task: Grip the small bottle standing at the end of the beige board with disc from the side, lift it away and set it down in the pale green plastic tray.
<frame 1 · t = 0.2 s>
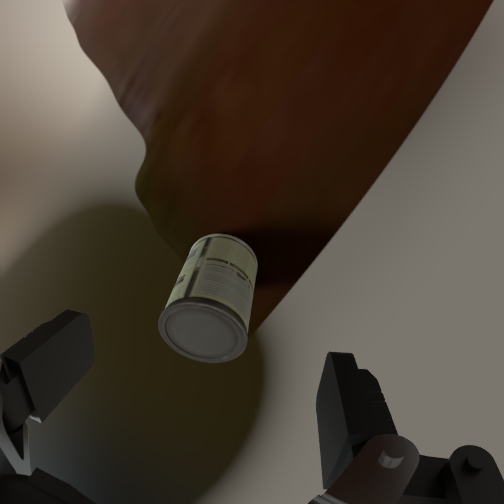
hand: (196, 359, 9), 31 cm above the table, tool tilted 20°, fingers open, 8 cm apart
coffee can: (223, 262, 46), on the table
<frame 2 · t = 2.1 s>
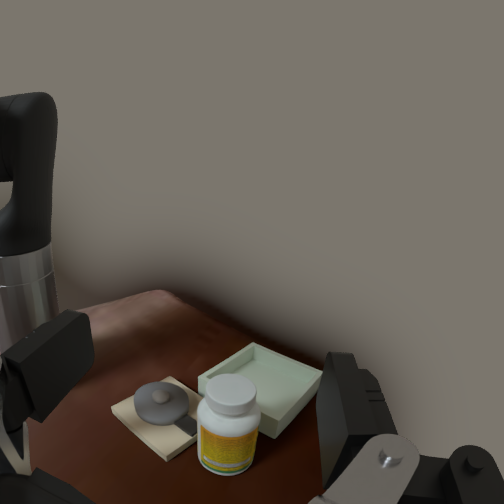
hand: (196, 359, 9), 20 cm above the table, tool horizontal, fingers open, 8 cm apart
supplement bottle: (225, 457, 26), on the table
beige board with disc: (168, 417, 30), on the table
tray: (261, 394, 36), on the table
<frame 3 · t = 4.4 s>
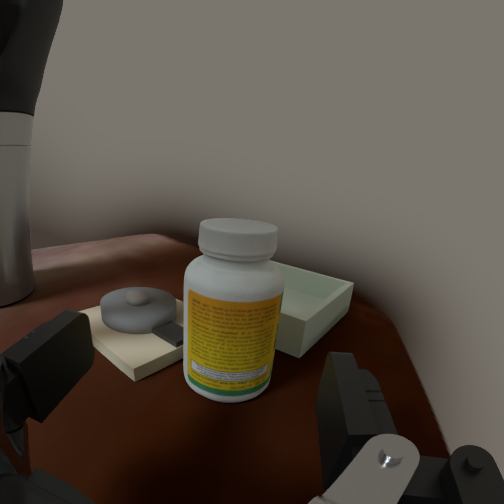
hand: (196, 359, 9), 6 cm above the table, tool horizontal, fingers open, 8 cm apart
supplement bottle: (227, 380, 19), on the table
beige board with disc: (147, 331, 23), on the table
tray: (274, 312, 29), on the table
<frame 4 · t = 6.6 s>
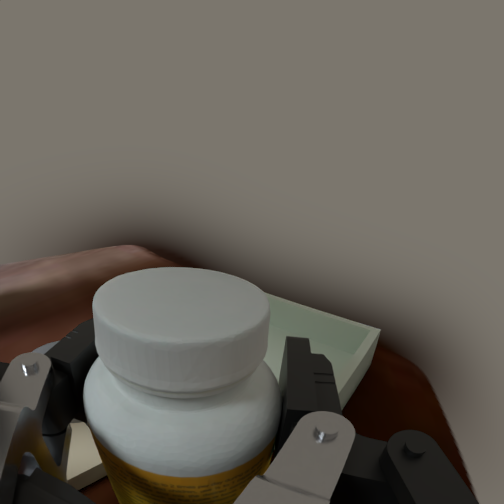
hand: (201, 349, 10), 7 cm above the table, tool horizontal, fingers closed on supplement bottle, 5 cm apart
beige board with disc: (84, 408, 14), on the table
tray: (269, 374, 19), on the table
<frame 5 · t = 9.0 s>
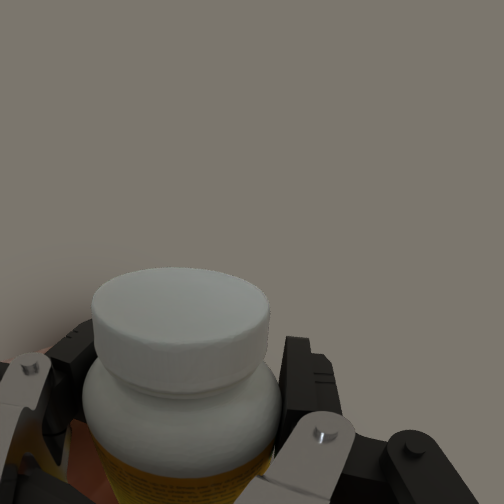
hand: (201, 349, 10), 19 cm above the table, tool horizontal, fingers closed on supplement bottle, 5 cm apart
when the fingers open (8 cm above the table, at t = 11.5 s): supplement bottle drops 1 cm, resting on tray.
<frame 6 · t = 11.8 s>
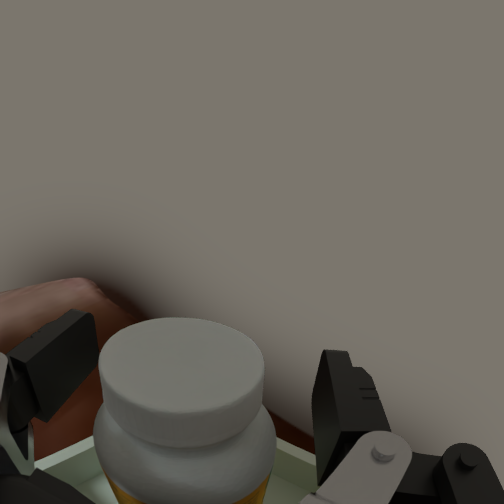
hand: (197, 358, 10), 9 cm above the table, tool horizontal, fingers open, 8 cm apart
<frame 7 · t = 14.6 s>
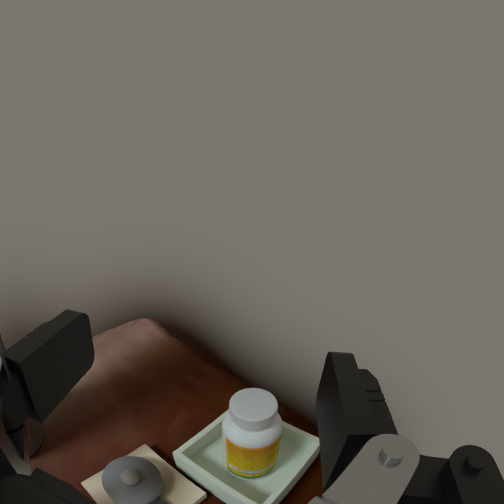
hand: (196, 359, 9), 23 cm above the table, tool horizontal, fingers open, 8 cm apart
supplement bottle: (249, 463, 27), point 1 cm above the table, touching tray
beige board with disc: (142, 495, 22), on the table
tray: (249, 464, 27), on the table
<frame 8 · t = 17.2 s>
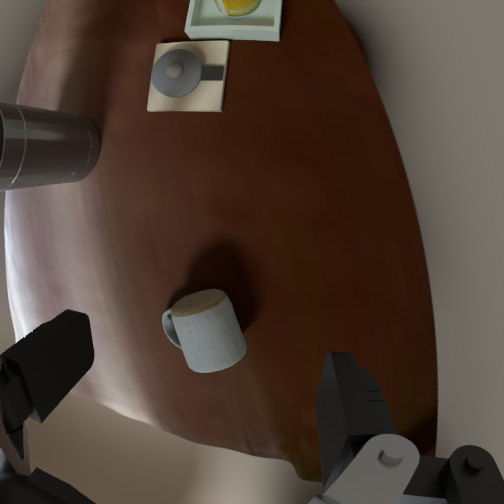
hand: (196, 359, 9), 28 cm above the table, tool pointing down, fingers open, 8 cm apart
supplement bottle: (239, 3, 29), point 1 cm above the table, touching tray
beige board with disc: (188, 76, 33), on the table
ceramic mug: (205, 319, 41), on the table
tray: (238, 5, 30), on the table
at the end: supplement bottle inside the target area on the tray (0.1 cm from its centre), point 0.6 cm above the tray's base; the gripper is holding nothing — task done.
